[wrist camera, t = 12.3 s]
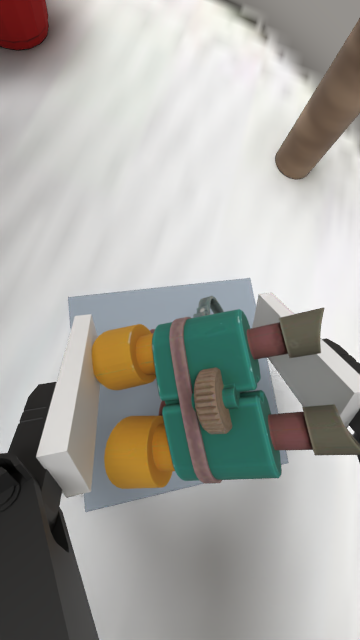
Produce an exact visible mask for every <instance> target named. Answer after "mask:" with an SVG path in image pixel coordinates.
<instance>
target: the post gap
mask: <svg viewBox="0 0 360 640" xmlns="http://www.w3.org/2000/svg"><path fill="white" fill-rule="evenodd" d="M359 113H360V18H359V20H358V22H357V24H356V25H355V27H354V28H353V30H352V32H351V33H350V35H349V36H348V38H347V40H346V41H345V43H344V45H343V46H342V48H341V50H340V51H339V53H338V54H337V56H336V58H335V59H334V61H333V62H332V64H331V66H330V67H329V69H328V71H327V72H326V74H325V75H324V77H323V79H322V80H321V82H320V84H319V85H318V87H317V88H316V90H315V92H314V93H313V95H312V97H311V98H310V100H309V101H308V103H307V105H306V106H305V108H304V110H303V111H302V113H301V114H300V116H299V118H298V119H297V121H296V123H295V124H294V126H293V128H292V129H291V131H290V132H289V134H288V136H287V137H286V139H285V141H284V142H283V144H282V145H281V147H280V149H279V150H278V152H277V154H276V164H277V167H278V169H279V170H280V171H281V172H282V173H283V174H284V175H286V176H287V177H289V178H293V179H301V178H304V177H305V176H307V175H308V174H309V172H310V171H311V170H312V169H313V168H314V166H315V165H316V164H317V163H318V162H319V161H320V159H321V158H322V157H323V156H324V155H325V154H326V152H327V151H328V150H329V149H330V148H331V146H332V145H333V144H334V143H335V142H336V141H337V139H338V138H339V137H340V136H341V135H342V133H343V132H344V131H345V130H346V129H347V128H348V126H349V125H350V124H351V123H352V122H353V121H354V119H355V118H356V117H357V116H358V115H359Z"/></svg>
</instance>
